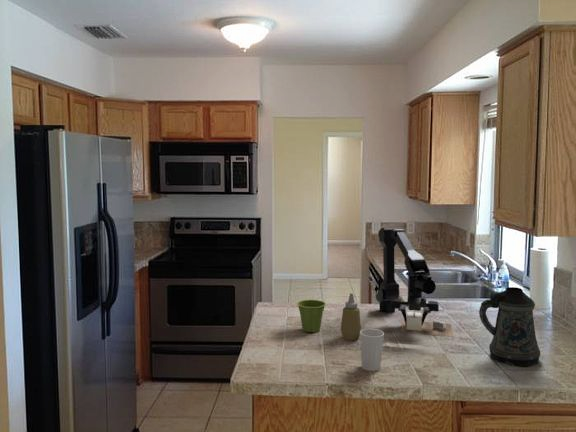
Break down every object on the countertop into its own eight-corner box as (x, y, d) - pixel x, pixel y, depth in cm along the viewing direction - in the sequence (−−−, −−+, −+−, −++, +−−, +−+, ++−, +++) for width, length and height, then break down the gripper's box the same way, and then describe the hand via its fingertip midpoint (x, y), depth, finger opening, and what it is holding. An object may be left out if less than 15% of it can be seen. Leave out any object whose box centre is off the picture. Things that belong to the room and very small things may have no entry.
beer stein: (551, 364, 171) (555, 293, 169) (503, 371, 166) (507, 297, 163) (516, 347, 187) (519, 282, 184) (471, 352, 182) (474, 285, 179)
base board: (400, 335, 199) (400, 332, 199) (401, 323, 214) (401, 320, 214) (453, 340, 194) (453, 336, 194) (450, 327, 210) (450, 323, 209)
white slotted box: (406, 329, 202) (406, 316, 202) (406, 323, 210) (407, 311, 209) (421, 330, 201) (421, 317, 200) (421, 324, 208) (421, 312, 208)
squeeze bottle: (362, 336, 198) (363, 291, 196) (358, 343, 191) (359, 297, 189) (342, 333, 201) (343, 290, 199) (338, 340, 193) (338, 295, 191)
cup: (356, 362, 172) (357, 329, 171) (379, 362, 173) (380, 328, 171) (362, 372, 164) (362, 337, 163) (386, 371, 165) (386, 336, 163)
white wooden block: (442, 330, 201) (443, 323, 200) (432, 328, 204) (433, 321, 203) (445, 329, 202) (446, 322, 202) (435, 327, 205) (435, 319, 205)
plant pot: (329, 327, 209) (330, 301, 207) (319, 336, 198) (319, 308, 197) (303, 323, 213) (303, 297, 212) (292, 332, 203) (292, 305, 202)
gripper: (390, 291, 198) (389, 329, 200) (440, 294, 194) (438, 333, 195) (392, 284, 209) (391, 321, 210) (438, 287, 204) (437, 324, 206)
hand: (413, 325), depth 205 cm, fingers closed on white slotted box, 6 cm apart
